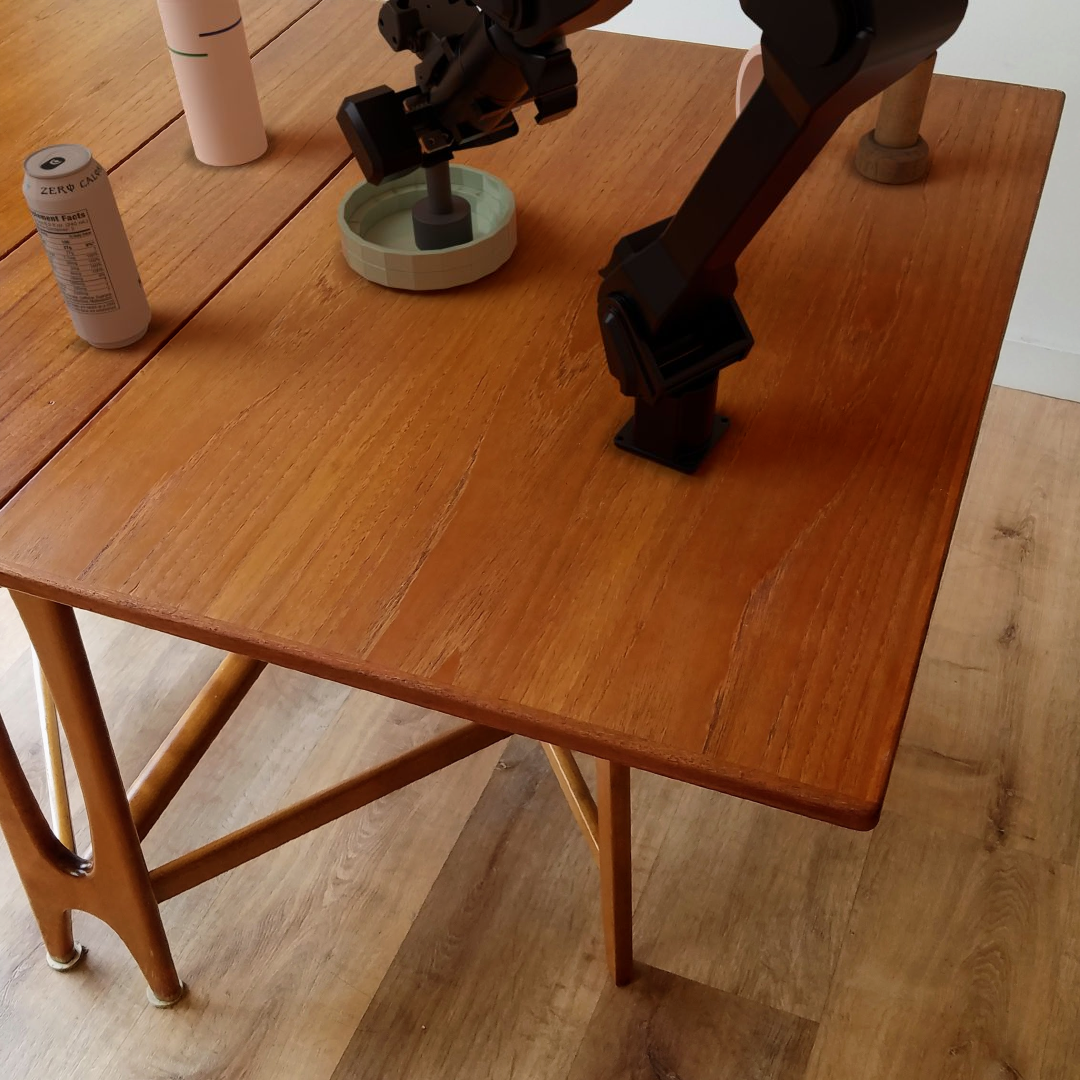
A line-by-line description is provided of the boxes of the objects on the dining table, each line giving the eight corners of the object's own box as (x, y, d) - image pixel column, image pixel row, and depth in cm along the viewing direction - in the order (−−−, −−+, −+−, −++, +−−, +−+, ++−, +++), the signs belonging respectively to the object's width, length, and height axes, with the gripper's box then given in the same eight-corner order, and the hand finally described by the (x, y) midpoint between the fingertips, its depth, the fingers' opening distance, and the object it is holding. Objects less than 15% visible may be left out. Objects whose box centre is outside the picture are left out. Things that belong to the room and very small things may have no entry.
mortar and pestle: (925, 187, 107) (973, -15, 94) (853, 181, 108) (891, -20, 95) (923, 153, 111) (969, -45, 98) (854, 148, 112) (891, -49, 99)
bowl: (452, 315, 94) (448, 273, 91) (308, 265, 100) (300, 223, 97) (549, 229, 103) (548, 188, 100) (411, 187, 109) (407, 148, 106)
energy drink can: (170, 320, 95) (117, 148, 84) (121, 360, 91) (59, 186, 80) (113, 302, 97) (54, 133, 86) (63, 341, 93) (-5, 169, 82)
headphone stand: (756, 176, 109) (771, 49, 100) (730, 147, 113) (742, 23, 104) (800, 168, 110) (819, 41, 101) (773, 140, 114) (789, 15, 105)
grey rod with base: (413, 256, 97) (392, 82, 86) (416, 225, 101) (396, 54, 90) (472, 254, 97) (458, 79, 86) (473, 223, 101) (460, 52, 90)
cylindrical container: (274, 157, 114) (218, -124, 96) (202, 172, 112) (131, -112, 94) (259, 126, 118) (202, -147, 100) (189, 140, 117) (119, -136, 99)
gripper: (553, -80, 83) (477, 29, 97) (327, -15, 76) (280, 92, 90) (620, 64, 84) (535, 151, 98) (404, 142, 77) (345, 224, 91)
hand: (427, 151), depth 94 cm, fingers closed on grey rod with base
